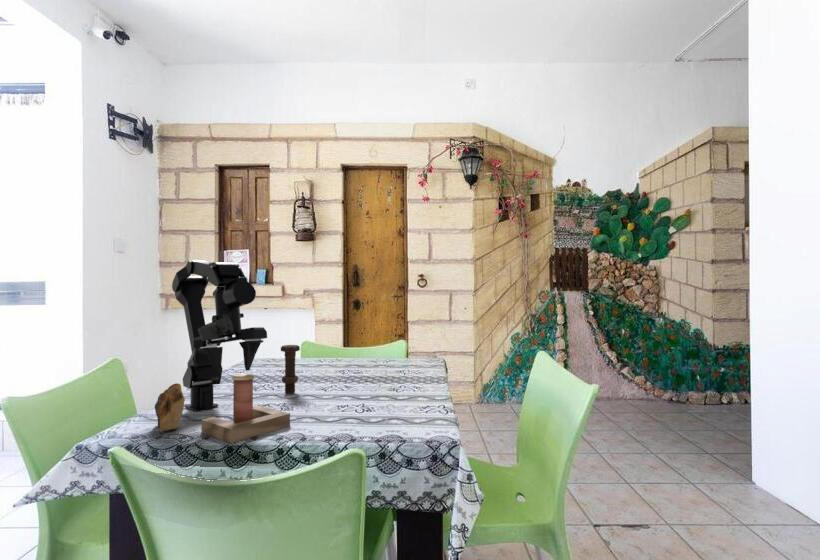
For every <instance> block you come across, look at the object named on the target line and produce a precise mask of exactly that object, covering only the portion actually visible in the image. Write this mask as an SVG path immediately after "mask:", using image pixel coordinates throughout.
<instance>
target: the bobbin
mask: <svg viewBox="0 0 820 560" xmlns="http://www.w3.org/2000/svg"><path fill="white" fill-rule="evenodd" d="M231 379H232V380H233V394H232V395H233V399H232V400H233V401H232V403H233V407H232V410H233V411H232V413H233V414H232V416H233V419H232V422H231V423H235V424H237V423H241V422H244V421H248V420H252V419H253V407H254V406H253V405H254V403H253V401H254V394H253V393H254V379H255V375H254V374H251V373H250V374H249V373H242V374H241V373H239V374H235V375H232V378H231Z"/></svg>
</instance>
